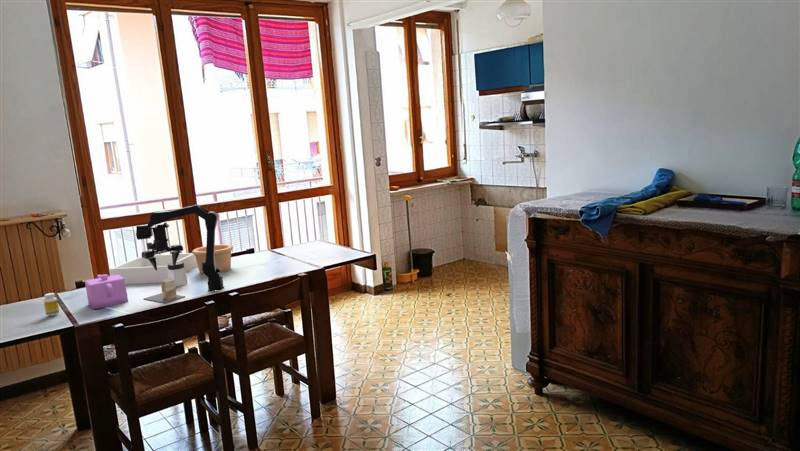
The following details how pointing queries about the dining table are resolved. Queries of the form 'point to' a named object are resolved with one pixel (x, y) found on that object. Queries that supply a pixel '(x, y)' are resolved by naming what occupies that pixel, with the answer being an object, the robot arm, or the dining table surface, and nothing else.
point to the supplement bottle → (51, 304)
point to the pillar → (168, 289)
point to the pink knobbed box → (106, 291)
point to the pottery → (220, 254)
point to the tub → (151, 268)
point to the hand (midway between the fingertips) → (165, 268)
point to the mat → (161, 298)
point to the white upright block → (177, 273)
